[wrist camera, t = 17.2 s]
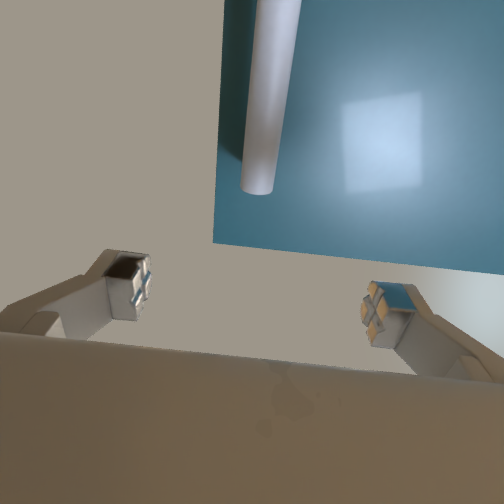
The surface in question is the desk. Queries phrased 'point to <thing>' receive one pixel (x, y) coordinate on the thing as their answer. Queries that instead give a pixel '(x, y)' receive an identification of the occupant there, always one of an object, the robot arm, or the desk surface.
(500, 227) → the fridge door
